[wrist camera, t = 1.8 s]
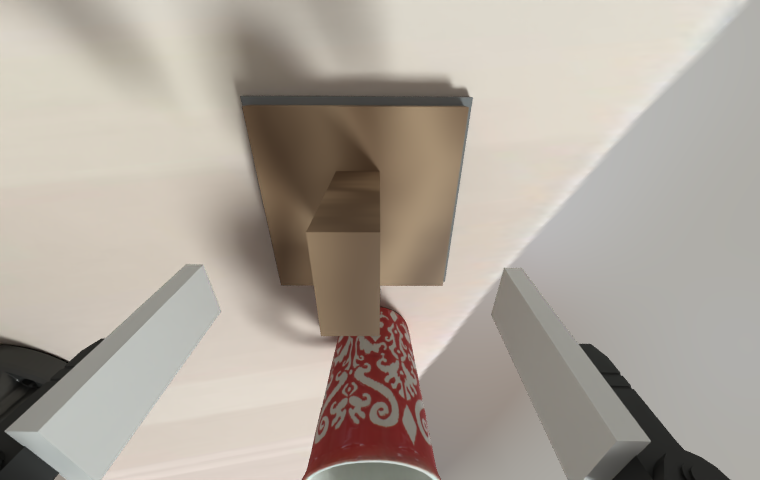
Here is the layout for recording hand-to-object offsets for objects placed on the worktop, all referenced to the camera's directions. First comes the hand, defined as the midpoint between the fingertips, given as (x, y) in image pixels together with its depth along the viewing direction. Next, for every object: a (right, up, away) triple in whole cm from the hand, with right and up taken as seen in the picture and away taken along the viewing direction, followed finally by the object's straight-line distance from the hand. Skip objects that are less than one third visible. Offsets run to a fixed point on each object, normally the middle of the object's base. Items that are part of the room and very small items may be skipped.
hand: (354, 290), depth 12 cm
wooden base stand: (0, +5, +9) cm, 10 cm away
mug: (0, -9, +18) cm, 20 cm away
